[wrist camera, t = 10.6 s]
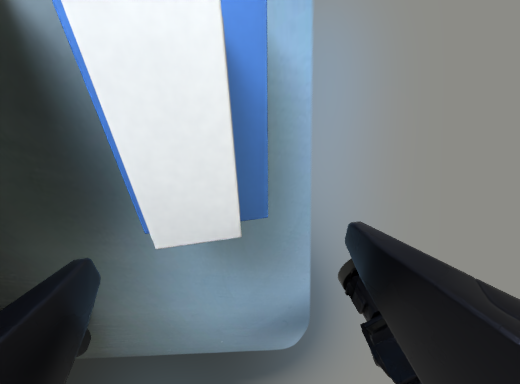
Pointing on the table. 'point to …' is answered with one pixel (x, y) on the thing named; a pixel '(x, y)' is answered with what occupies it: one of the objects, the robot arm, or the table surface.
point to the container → (241, 96)
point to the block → (166, 110)
